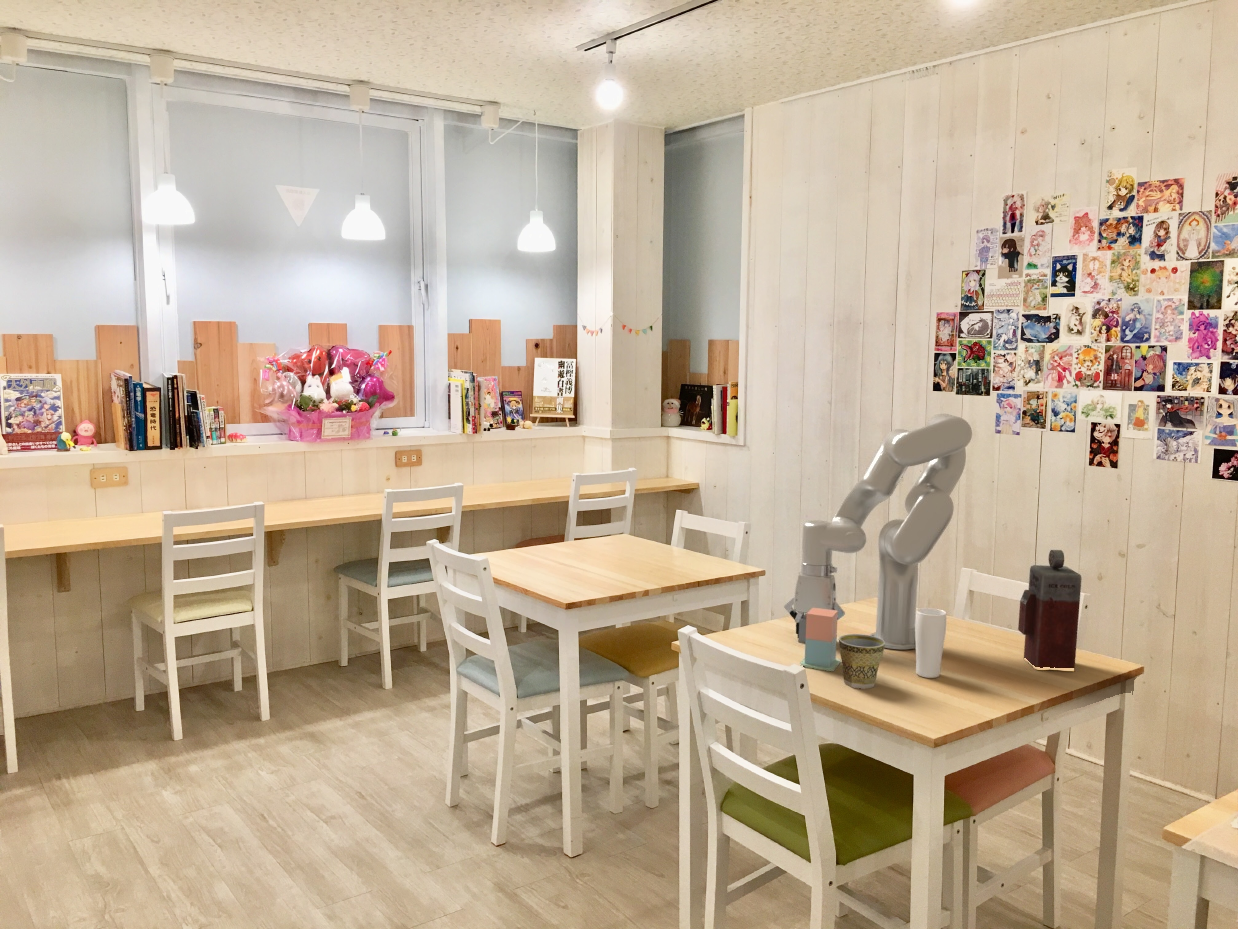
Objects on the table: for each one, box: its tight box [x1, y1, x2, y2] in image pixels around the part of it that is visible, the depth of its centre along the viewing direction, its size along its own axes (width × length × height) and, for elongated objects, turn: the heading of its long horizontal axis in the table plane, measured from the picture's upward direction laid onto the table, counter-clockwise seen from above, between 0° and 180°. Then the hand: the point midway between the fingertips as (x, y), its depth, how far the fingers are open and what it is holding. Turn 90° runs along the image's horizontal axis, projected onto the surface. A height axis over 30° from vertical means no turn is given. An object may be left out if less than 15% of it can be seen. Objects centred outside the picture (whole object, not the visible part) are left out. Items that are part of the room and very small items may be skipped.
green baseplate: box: [799, 657, 842, 672], centre depth 234 cm, size 8×8×1 cm
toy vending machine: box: [1017, 549, 1082, 669], centre depth 236 cm, size 9×11×28 cm
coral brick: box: [806, 608, 838, 642], centre depth 233 cm, size 6×6×6 cm
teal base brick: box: [804, 635, 838, 667], centre depth 234 cm, size 6×6×6 cm
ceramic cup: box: [838, 633, 885, 690], centre depth 222 cm, size 13×10×10 cm
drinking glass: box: [915, 607, 948, 679], centre depth 227 cm, size 7×7×15 cm
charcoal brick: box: [798, 613, 807, 644], centre depth 253 cm, size 6×6×6 cm
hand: (813, 638), depth 253 cm, fingers closed on charcoal brick, 6 cm apart
